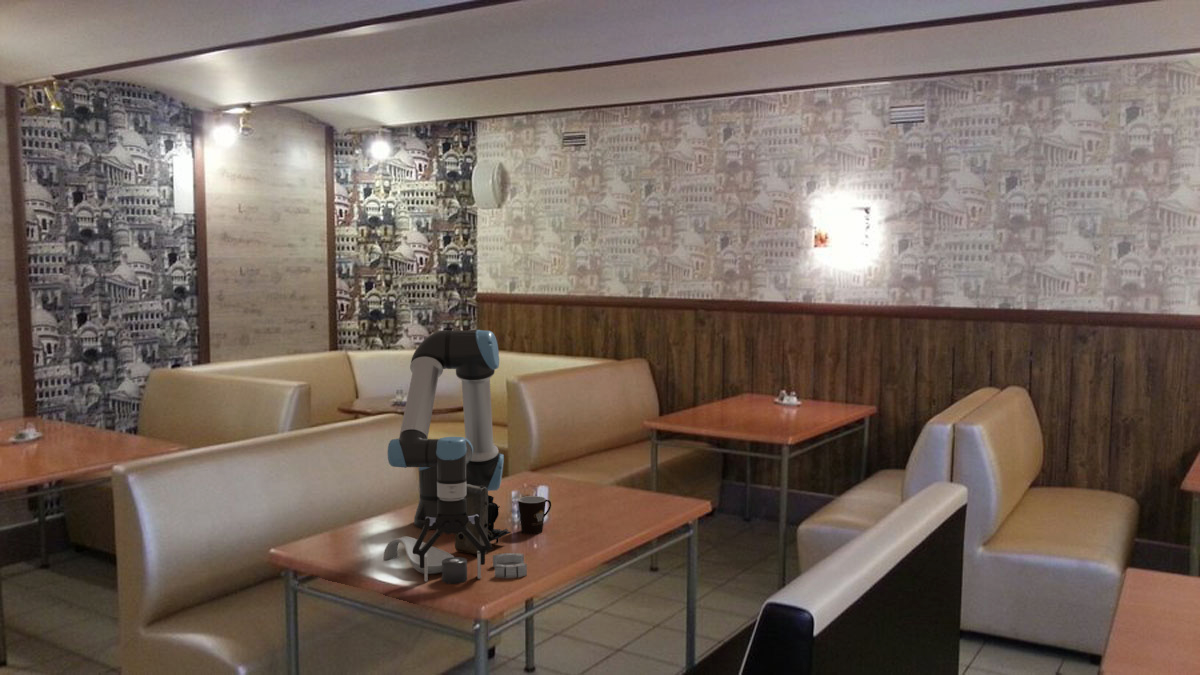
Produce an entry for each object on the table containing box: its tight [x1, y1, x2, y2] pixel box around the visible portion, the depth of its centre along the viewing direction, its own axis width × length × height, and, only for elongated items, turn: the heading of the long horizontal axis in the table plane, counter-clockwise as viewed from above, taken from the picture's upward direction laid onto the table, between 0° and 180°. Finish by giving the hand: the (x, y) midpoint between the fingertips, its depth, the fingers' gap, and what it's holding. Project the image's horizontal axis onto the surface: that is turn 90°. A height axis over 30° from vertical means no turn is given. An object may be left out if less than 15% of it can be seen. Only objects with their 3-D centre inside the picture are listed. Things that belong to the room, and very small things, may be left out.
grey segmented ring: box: [492, 552, 528, 579], centre depth 242 cm, size 12×8×3 cm
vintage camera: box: [454, 484, 512, 556], centre depth 262 cm, size 10×16×20 cm, turn 149°
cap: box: [441, 556, 468, 585], centre depth 235 cm, size 6×6×5 cm
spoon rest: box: [382, 536, 455, 575], centre depth 246 cm, size 24×12×7 cm, turn 53°
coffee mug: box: [517, 495, 552, 535], centre depth 280 cm, size 12×9×10 cm
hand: (452, 578), depth 236 cm, fingers open, 13 cm apart
